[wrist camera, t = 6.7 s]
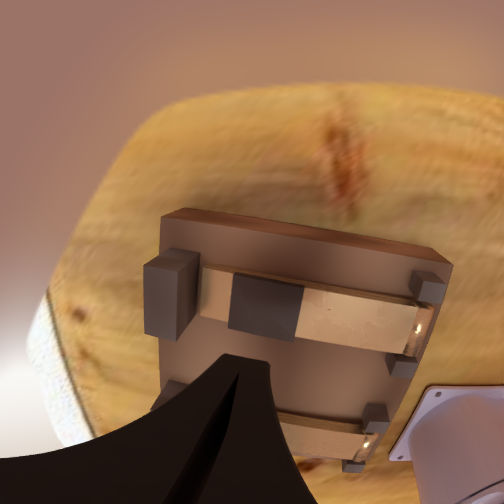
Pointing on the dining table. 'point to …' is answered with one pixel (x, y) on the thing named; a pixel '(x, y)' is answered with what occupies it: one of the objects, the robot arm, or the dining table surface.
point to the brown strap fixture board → (301, 350)
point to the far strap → (326, 437)
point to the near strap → (312, 311)
